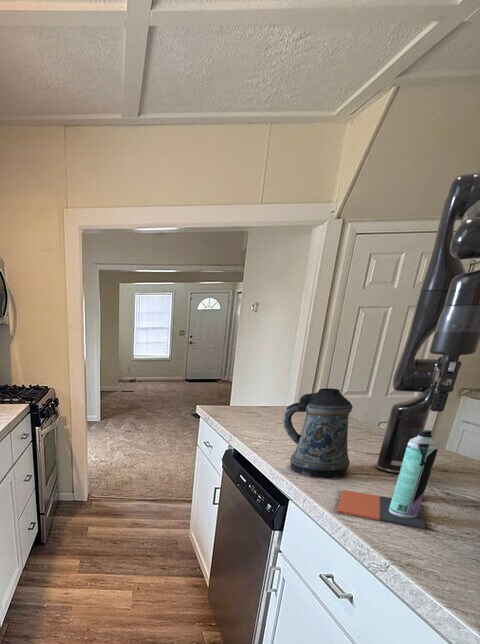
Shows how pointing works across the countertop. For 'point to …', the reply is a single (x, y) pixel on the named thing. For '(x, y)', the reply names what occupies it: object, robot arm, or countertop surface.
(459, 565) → the countertop surface
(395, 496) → the spray can
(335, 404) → the beer stein
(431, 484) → the countertop surface
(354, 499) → the sorting mat
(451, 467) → the countertop surface
